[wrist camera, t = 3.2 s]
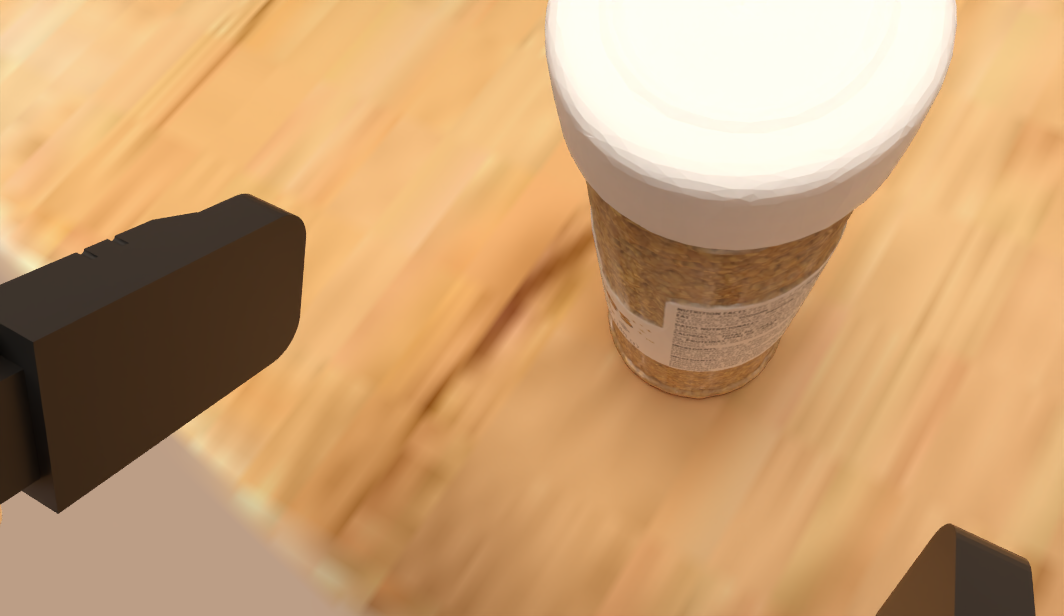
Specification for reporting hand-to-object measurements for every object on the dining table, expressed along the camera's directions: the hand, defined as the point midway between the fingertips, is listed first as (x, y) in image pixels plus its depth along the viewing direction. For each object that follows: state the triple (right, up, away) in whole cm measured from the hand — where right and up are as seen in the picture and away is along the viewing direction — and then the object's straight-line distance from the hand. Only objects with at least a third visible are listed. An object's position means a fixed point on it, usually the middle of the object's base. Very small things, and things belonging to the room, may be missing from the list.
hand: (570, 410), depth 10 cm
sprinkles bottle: (+4, +1, +12) cm, 13 cm away
